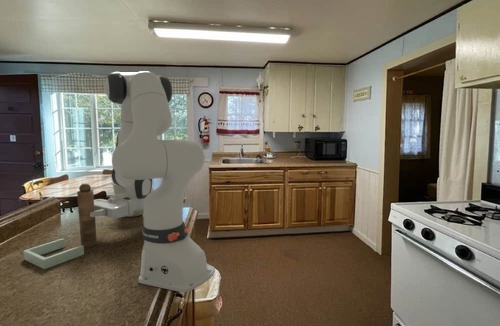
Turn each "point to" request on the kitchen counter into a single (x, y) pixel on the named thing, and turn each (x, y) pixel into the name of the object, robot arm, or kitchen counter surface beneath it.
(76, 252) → the box
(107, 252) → the kitchen counter surface
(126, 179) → the robot arm
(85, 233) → the pepper mill
